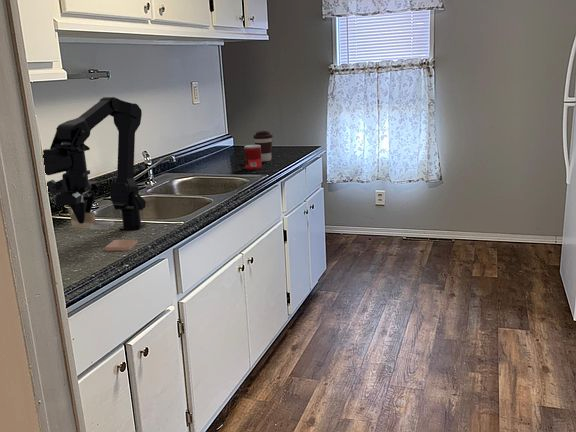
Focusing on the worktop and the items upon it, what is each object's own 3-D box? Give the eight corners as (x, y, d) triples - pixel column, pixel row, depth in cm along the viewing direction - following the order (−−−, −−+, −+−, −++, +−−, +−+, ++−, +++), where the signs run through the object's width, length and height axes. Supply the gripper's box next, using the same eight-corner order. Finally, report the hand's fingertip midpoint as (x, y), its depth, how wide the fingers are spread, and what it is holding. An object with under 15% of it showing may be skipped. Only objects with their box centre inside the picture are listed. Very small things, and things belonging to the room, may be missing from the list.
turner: (78, 224, 171) (76, 211, 170) (114, 224, 170) (112, 210, 169) (70, 229, 167) (68, 216, 166) (107, 228, 165) (105, 215, 164)
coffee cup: (271, 162, 299) (270, 132, 295) (252, 162, 301) (251, 133, 297) (275, 158, 309) (274, 130, 305) (257, 159, 310) (255, 130, 307)
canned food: (265, 167, 284) (263, 145, 281) (253, 170, 279) (251, 147, 276) (254, 166, 289) (253, 144, 287) (242, 168, 284) (240, 146, 281)
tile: (114, 239, 172) (137, 239, 172) (114, 244, 173) (137, 244, 172) (105, 247, 166) (128, 247, 165) (105, 252, 166) (129, 252, 165)
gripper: (64, 163, 174) (71, 214, 178) (31, 175, 156) (40, 231, 160) (100, 162, 173) (106, 213, 177) (71, 174, 155) (79, 231, 159)
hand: (83, 221), depth 168 cm, fingers closed on turner, 3 cm apart
